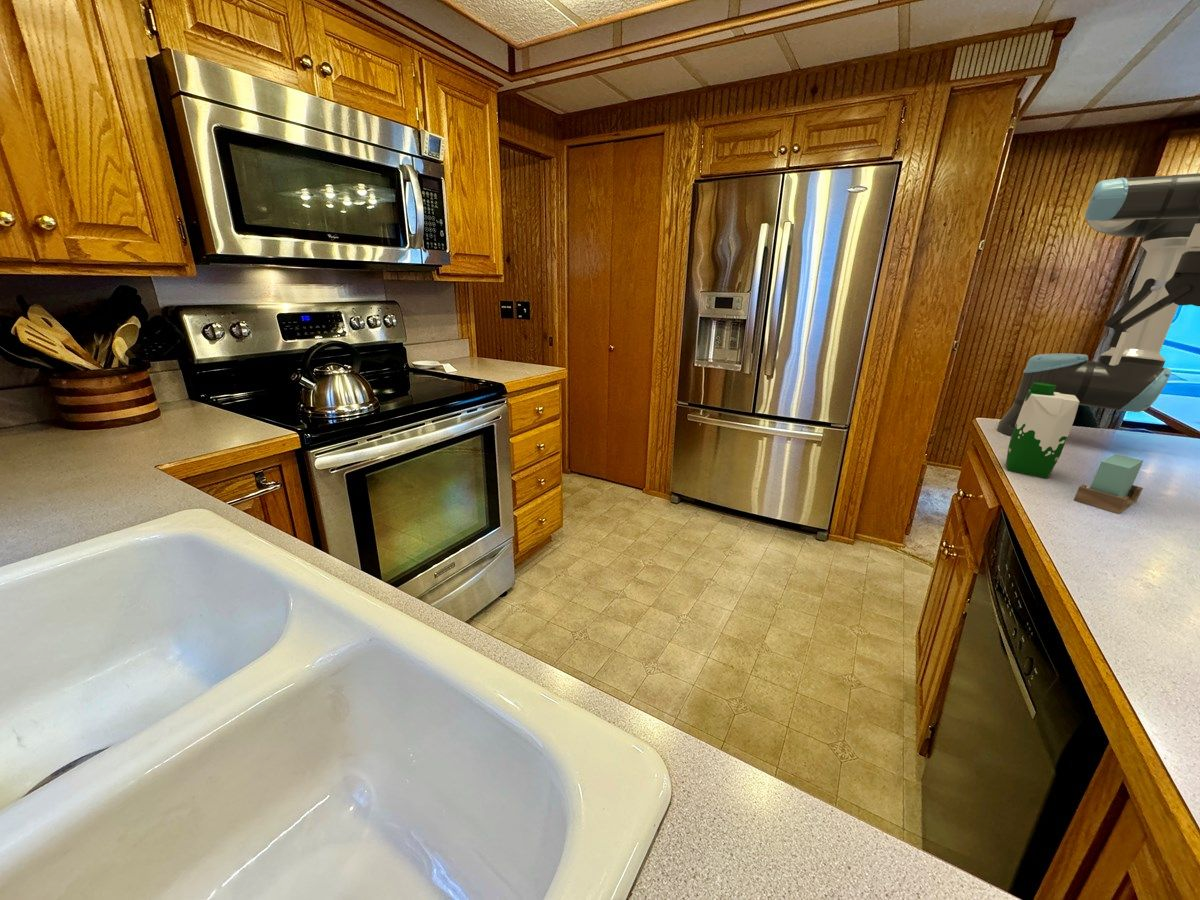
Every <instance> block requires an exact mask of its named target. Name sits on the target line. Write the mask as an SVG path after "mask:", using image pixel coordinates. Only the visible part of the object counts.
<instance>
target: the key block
mask: <svg viewBox="0 0 1200 900" xmlns="http://www.w3.org/2000/svg"><path fill="white" fill-rule="evenodd" d="M1143 463H1144V460H1143V459H1141V458H1140V459H1139V458H1136V457H1135V458H1134V457H1130V456H1125V455H1121V454H1117V453H1115V454H1113V455H1111V456H1109V457H1107V458H1105V459H1103V460H1101V461H1100V463H1099V465H1098V468H1097V470H1096V472H1095V475H1094V477H1093V480H1092V482H1091V484H1090V487H1089V489H1093V490H1096V491H1100V492H1103V493H1107V494H1110V495H1114V496H1117V497H1121V498H1122V497H1124V496H1128V494H1129V492H1130V490H1131V487H1132V485H1134V482H1135V481H1136V478H1137V476H1138V474H1139V472H1140V470H1141V467H1142V466H1143Z"/></svg>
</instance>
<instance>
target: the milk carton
mask: <svg viewBox="0 0 1200 900" xmlns="http://www.w3.org/2000/svg"><path fill="white" fill-rule="evenodd" d="M1055 388H1056V385H1054V384H1049V383H1041V382H1033V383H1032V386H1031V389H1030V390H1029V391H1028V394H1027V396H1026V398H1025V401H1024V403H1023V406H1022V408H1021V411H1020V413H1019V416H1018V419H1017V422H1016V425H1015V428H1014V431H1013V433H1012V436H1010V439H1009V440H1010V441H1009V443H1008V446H1007V447H1008V448H1007V455H1006V461H1005V462H1006V470H1007V471H1008V472H1013V473H1014V472H1015V473H1018V474H1024V475H1029V476H1032V477H1033V476H1035V477H1038V478H1042V477H1043V479H1048V478H1049V477H1050V475H1051V473H1052V471H1053V470H1054V468H1055V466H1056V464H1057V463H1058V461H1059V459H1060V458H1061V455H1062V453H1063V449H1064V447H1065V446H1066V445H1065V444H1066V442H1067V439H1068V437H1069V435H1070V433H1071V430H1072V427H1073V424H1074V421H1075V419H1076V416H1077V413H1078V408H1079V406H1080V405H1079V402H1080V401H1079V400H1078V399H1077V398H1076V396H1075V395H1068V394H1060V393H1058V392H1054V391H1055Z"/></svg>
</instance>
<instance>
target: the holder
mask: <svg viewBox="0 0 1200 900" xmlns="http://www.w3.org/2000/svg"><path fill="white" fill-rule="evenodd" d="M1143 489H1144V487H1141V486H1139V485H1134V484H1133V485H1132V487H1131V490H1130V492H1129V494H1128V496H1124V497H1122V498H1121V497H1117V496H1114V495H1110V494H1107V493H1103V492H1100V491H1096V490H1093V489H1090V487H1089V488H1088V485H1086V484H1081V485H1079V486H1078V489H1077V491H1076V493H1075V495H1074V498H1073V501H1075V502H1078V503H1082V504H1085V505H1089V506H1092V507H1094V508H1098V509H1101V510H1104V511H1105V510H1106V511H1108V512H1111V513H1115V514H1118V515H1119V514H1121V513H1122V512H1124V511H1125V510H1127V509H1128V508H1130V507H1131V506H1132V505H1133V503H1134V504H1135V503H1136V502H1137V501H1138V500H1139V497H1140V495H1141V493H1142V491H1143ZM1130 505H1131V506H1130ZM1126 508H1127V509H1126Z"/></svg>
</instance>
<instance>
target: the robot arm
mask: <svg viewBox="0 0 1200 900" xmlns="http://www.w3.org/2000/svg"><path fill="white" fill-rule="evenodd" d="M1084 218H1085V220H1086V223H1087V225H1088V226H1089V227H1090V229H1092V230H1093V231H1096V232H1098V233H1100V234H1104V235H1108V236H1114V237H1119V238H1143V239H1142V242H1141V244H1140V246H1141V247H1142V248H1143V249H1144V250H1145V251H1146V255H1145V257H1144V259H1143V263H1142V265H1141V267H1140V271H1139V274H1138V276H1137V278H1136V281H1135V284H1134V287H1133V288H1132V292H1131V294H1130V297H1129V300H1128V301H1127V302H1125V304H1124V305H1122V306H1121V307H1120V308H1119V309H1118V310H1117V311H1116V312H1115V313H1114V314H1112V315H1111V316H1110V317H1109V318H1108V319H1107V320H1106V321H1105V322H1104V326H1105V327H1108V328H1111V329H1113V331H1114V333H1113V335H1112V339H1111V341H1110V342H1109V349H1108V350H1106V351H1104V352H1102V353H1100V355H1099V356H1098V360H1097V361H1096V360H1095V361H1094V360H1089V355H1087V354H1084V353H1083V354H1082V353H1067V352H1065V353H1040V354H1036V355H1033V356H1032V357H1030V358H1029V359H1028V360H1027V364H1026V366H1025V368H1024V370H1023V375H1022V377H1021V378H1022V379H1021V380H1020V383H1019V387H1018V389H1017V392H1016V394H1015V397H1014V400H1013V404H1012V406H1011V407H1010V408H1009V409H1008V410H1007V412H1006V413H1005V414H1004V415H1003V416H1002V418H1001V419H1000V420H999V422H998V424H997V428H996V429H997V431H998V432H1000V433H1002V434H1004V435H1007V436H1010V437H1011V436H1012V433H1013V431H1014V428H1015V425H1016V422H1017V419H1018V416H1019V413H1020V411H1021V408H1022V406H1023V403H1024V401H1025V398H1026V396H1027V394H1028V391H1029V390H1030V389H1031V386H1032V383H1033V382H1041V383H1049V384H1054V385H1056V388H1055V391H1054V392H1058V393H1060V394H1068V395H1075V396H1076V398H1077V399H1078V400H1079V401H1080V402H1079V405H1078V406H1087V407H1091V408H1092V407H1094V408H1101V409H1107V410H1114V411H1117V412H1121V411H1122V412H1123V411H1125V412H1131V413H1132V412H1133V413H1141V412H1143V411H1145V410H1146V411H1147V409H1149V408H1150V407H1151V406H1152V405H1153V404H1154V402H1155V401H1156V400H1157V398H1158V397H1159V396H1160V395H1161V393H1162V392H1163V390H1164V389H1165V387H1166V385H1167V383H1168V381H1169V378H1170V376H1171V372H1172V371H1171V369H1170V368H1168V367H1164V365H1165V363H1166V359H1165V358H1164V356H1162V355H1161V353H1160V352H1161V350H1162V347H1163V345H1164V342H1165V339H1166V337H1167V334H1168V332H1169V330H1170V327H1171V325H1172V322H1173V320H1174V317H1175V314H1176V312H1177V310H1178V307H1179V306H1191V305H1192V306H1194V307H1200V172H1198V173H1186V174H1172V175H1160V176H1157V175H1156V176H1155V175H1154V176H1144V177H1142V176H1141V177H1138V176H1137V177H1118V178H1113V179H1103V180H1100V181H1099V182H1097V183H1096V184H1095V185H1094V189H1093V191H1092V194H1091V196H1090V198H1089V202H1088V205H1087V208H1086V210H1085V215H1084Z"/></svg>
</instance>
